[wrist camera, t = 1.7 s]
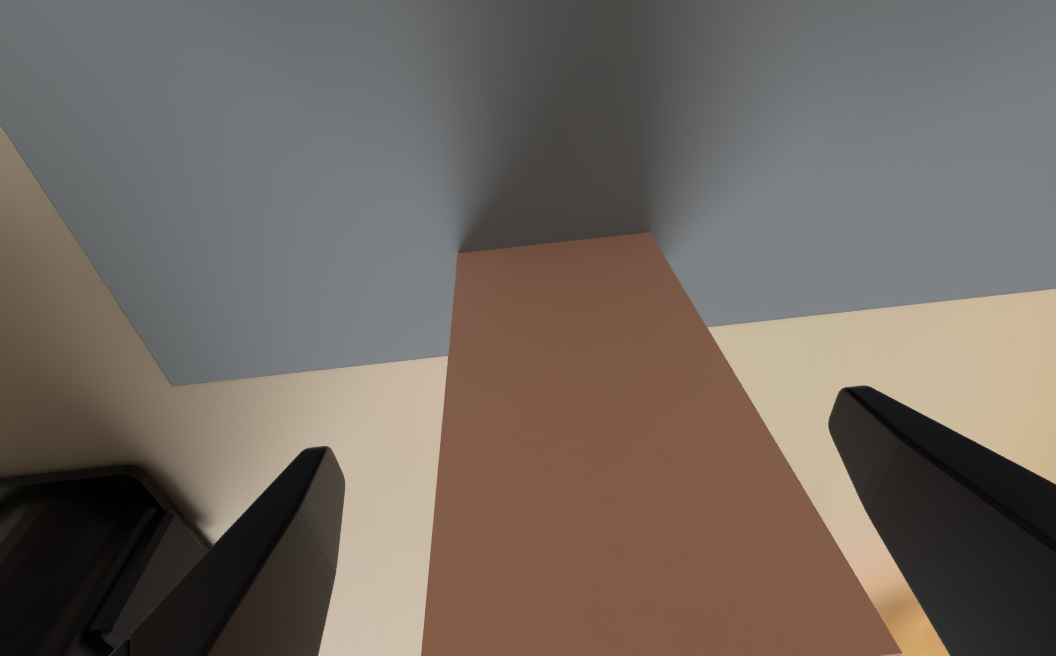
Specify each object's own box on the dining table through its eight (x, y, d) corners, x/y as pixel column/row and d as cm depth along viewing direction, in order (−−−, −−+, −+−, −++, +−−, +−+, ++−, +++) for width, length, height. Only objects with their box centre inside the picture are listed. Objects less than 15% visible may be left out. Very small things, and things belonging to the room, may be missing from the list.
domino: (646, 284, 14) (857, 711, 6) (467, 304, 14) (444, 758, 6) (649, 232, 13) (902, 653, 5) (457, 253, 13) (416, 708, 5)
